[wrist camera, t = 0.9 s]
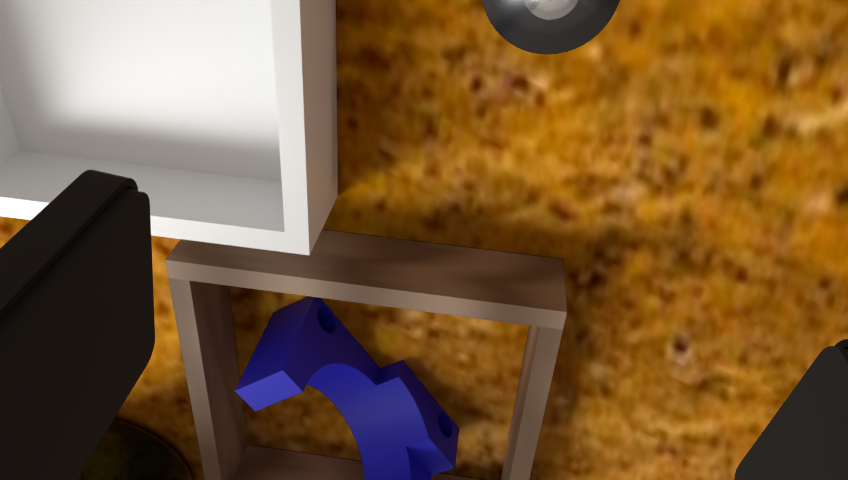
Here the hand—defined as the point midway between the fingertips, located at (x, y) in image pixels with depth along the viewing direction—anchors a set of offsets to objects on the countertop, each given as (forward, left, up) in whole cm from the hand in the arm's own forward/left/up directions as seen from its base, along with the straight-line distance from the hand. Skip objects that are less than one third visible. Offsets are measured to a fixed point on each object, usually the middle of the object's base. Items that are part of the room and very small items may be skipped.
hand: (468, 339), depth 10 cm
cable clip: (+5, +22, -21) cm, 30 cm away
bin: (+15, +2, -20) cm, 25 cm away
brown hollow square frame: (+5, +21, -20) cm, 30 cm away
